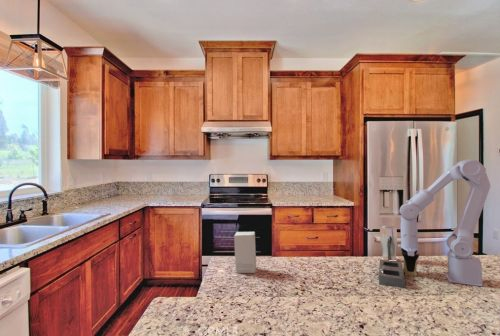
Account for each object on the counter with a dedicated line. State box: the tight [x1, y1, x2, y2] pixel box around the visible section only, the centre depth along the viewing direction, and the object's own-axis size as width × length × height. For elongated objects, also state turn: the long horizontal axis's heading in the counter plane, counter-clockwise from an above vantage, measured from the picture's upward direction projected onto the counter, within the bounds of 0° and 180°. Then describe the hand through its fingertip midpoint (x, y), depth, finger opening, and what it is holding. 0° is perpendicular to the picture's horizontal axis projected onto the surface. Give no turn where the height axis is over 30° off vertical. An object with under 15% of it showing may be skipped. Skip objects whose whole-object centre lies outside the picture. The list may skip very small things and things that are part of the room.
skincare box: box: [233, 231, 257, 274], centre depth 111 cm, size 8×7×16 cm
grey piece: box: [378, 258, 406, 289], centre depth 103 cm, size 8×20×3 cm, turn 153°
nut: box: [403, 258, 418, 277], centre depth 105 cm, size 4×4×6 cm
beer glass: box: [379, 225, 398, 260], centre depth 122 cm, size 7×7×15 cm
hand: (410, 269), depth 105 cm, fingers closed on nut, 4 cm apart
